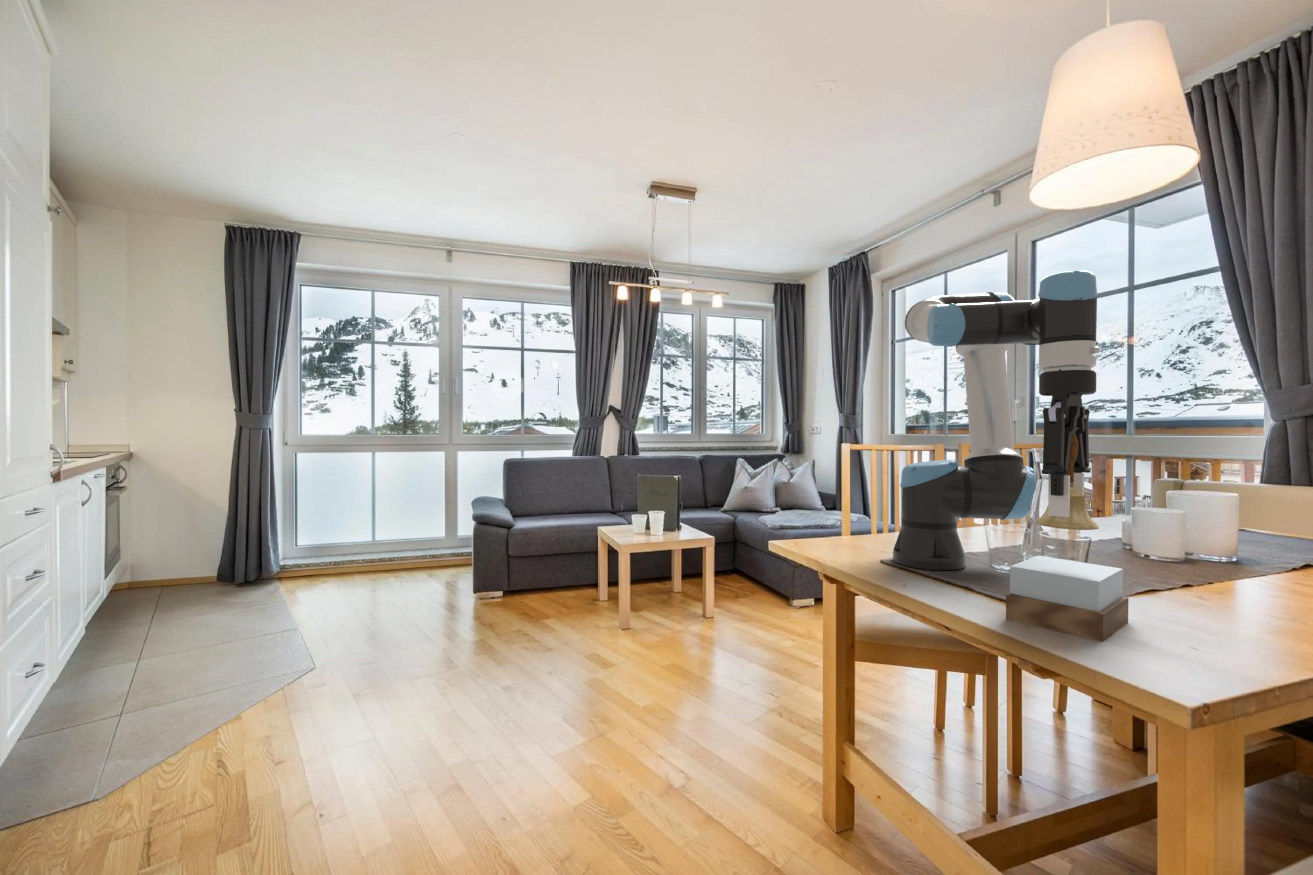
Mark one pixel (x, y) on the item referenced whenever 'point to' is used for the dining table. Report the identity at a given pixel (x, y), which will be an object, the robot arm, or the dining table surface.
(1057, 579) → the top block
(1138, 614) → the dining table surface
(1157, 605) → the dining table surface
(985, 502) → the robot arm
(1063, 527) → the hand bell
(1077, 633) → the bottom block
